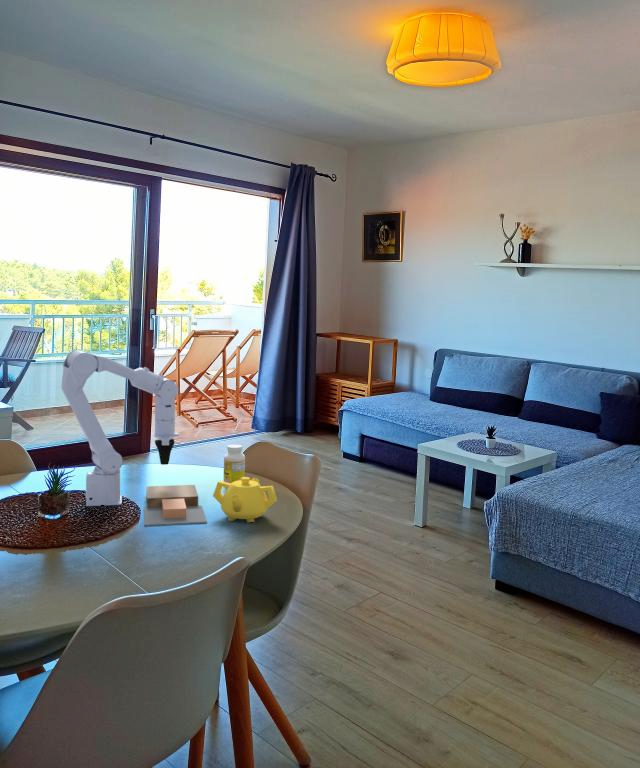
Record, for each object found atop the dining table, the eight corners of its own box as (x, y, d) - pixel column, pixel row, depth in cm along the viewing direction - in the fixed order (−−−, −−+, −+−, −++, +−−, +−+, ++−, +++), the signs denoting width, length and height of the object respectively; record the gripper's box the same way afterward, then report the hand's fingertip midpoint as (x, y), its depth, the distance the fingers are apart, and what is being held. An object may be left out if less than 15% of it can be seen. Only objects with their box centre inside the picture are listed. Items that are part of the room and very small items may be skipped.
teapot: (265, 533, 178) (267, 490, 176) (199, 525, 181) (200, 484, 180) (285, 509, 197) (286, 471, 196) (225, 503, 200) (226, 466, 199)
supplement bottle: (221, 483, 221) (222, 443, 220) (242, 482, 223) (243, 443, 222) (225, 489, 215) (226, 448, 213) (246, 488, 217) (247, 448, 215)
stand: (147, 508, 193) (147, 498, 193) (146, 496, 205) (146, 486, 204) (198, 506, 197) (198, 496, 196) (194, 494, 208) (194, 484, 208)
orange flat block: (163, 518, 184) (163, 509, 184) (162, 508, 193) (162, 499, 193) (186, 517, 186) (186, 508, 186) (183, 507, 194) (184, 498, 194)
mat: (144, 526, 179) (144, 524, 179) (143, 509, 192) (143, 508, 192) (206, 523, 183) (206, 521, 183) (201, 507, 197) (201, 505, 197)
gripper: (180, 423, 198) (179, 469, 200) (177, 414, 212) (177, 457, 214) (154, 423, 196) (154, 470, 198) (153, 414, 210) (153, 458, 212)
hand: (164, 464), depth 206 cm, fingers closed
